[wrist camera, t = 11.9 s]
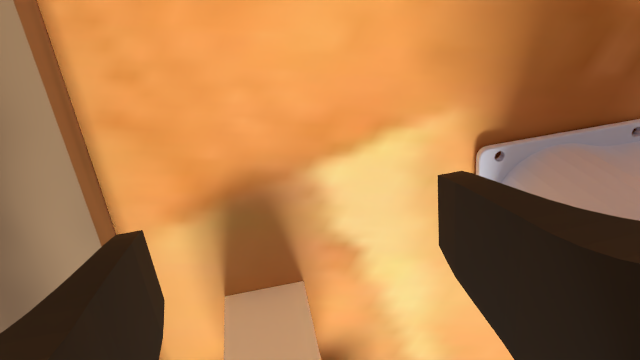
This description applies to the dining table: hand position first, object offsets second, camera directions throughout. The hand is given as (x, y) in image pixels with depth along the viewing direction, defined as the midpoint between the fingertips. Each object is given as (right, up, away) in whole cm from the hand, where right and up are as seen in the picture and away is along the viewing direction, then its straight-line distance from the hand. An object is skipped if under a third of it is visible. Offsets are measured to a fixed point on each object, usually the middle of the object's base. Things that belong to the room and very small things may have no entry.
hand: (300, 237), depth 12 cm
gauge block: (-2, -7, +14) cm, 16 cm away
